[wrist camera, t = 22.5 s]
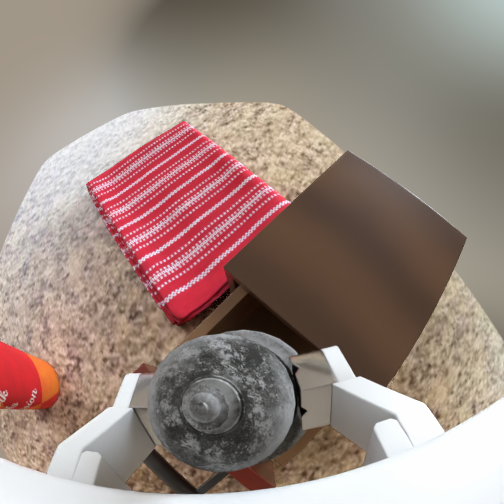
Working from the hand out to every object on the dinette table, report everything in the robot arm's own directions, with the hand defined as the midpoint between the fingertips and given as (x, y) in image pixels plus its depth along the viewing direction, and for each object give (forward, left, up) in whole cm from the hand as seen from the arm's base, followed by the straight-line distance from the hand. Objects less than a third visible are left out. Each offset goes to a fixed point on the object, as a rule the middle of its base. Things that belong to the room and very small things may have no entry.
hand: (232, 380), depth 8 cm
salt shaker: (0, -1, -7) cm, 7 cm away
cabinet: (+12, 0, -17) cm, 21 cm away
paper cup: (-17, +15, -17) cm, 29 cm away
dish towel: (+9, +19, -17) cm, 27 cm away
